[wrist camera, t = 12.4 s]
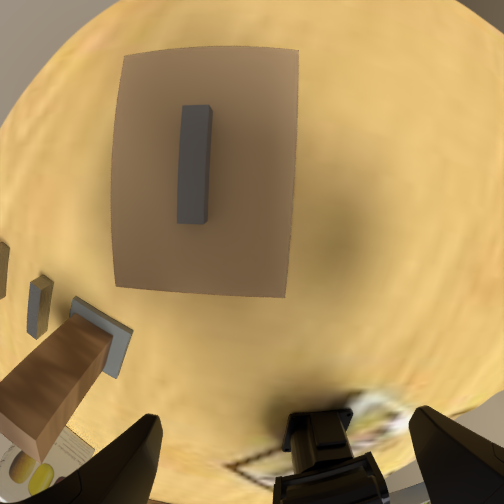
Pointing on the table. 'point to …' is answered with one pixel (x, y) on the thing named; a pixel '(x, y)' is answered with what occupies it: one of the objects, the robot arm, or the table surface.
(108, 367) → the pad
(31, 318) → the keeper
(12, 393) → the brown block
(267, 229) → the toolbox
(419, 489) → the tray
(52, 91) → the table surface
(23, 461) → the supplement box
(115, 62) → the table surface
